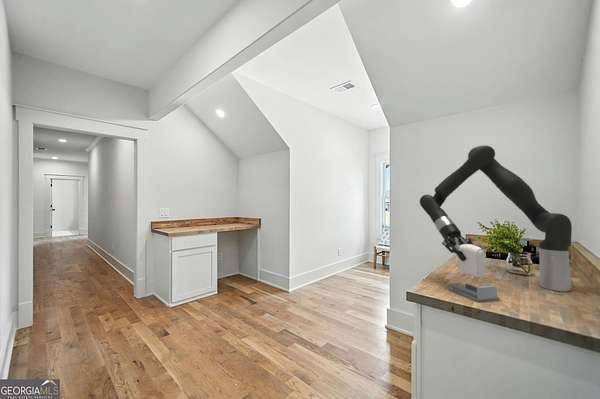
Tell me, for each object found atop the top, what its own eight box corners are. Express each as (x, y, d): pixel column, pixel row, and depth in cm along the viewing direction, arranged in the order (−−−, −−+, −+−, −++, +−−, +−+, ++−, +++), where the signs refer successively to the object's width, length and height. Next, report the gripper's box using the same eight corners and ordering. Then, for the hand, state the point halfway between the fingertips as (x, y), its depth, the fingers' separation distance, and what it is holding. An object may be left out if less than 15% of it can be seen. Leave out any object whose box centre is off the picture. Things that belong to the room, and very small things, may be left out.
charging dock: (468, 288, 112) (468, 276, 112) (499, 300, 98) (498, 286, 98) (449, 290, 110) (449, 277, 110) (477, 302, 96) (477, 288, 96)
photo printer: (456, 271, 110) (456, 242, 110) (464, 270, 111) (464, 242, 111) (477, 278, 100) (477, 247, 100) (486, 277, 101) (486, 246, 101)
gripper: (438, 223, 114) (460, 255, 102) (464, 222, 116) (489, 254, 104) (429, 233, 119) (450, 265, 107) (455, 232, 122) (478, 263, 110)
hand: (469, 259), depth 106 cm, fingers closed on photo printer, 4 cm apart
